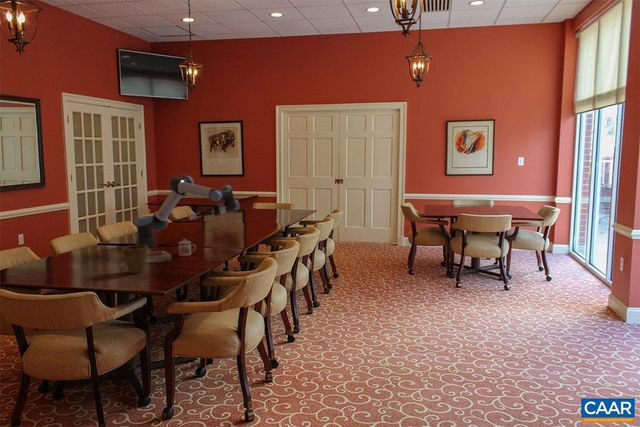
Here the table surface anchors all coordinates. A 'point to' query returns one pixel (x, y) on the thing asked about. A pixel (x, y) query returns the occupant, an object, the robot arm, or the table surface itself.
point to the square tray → (158, 257)
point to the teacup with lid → (185, 248)
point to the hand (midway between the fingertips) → (190, 217)
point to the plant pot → (135, 257)
